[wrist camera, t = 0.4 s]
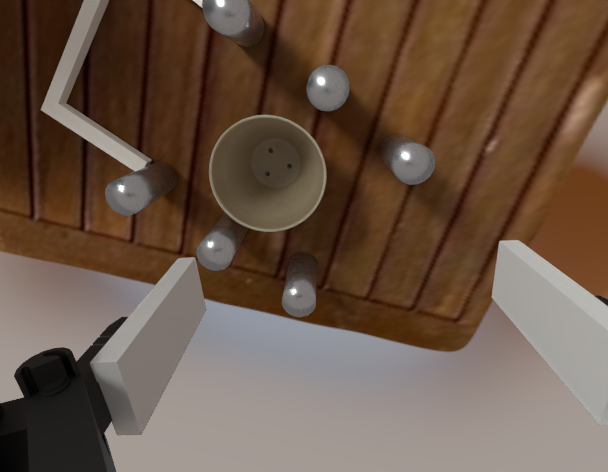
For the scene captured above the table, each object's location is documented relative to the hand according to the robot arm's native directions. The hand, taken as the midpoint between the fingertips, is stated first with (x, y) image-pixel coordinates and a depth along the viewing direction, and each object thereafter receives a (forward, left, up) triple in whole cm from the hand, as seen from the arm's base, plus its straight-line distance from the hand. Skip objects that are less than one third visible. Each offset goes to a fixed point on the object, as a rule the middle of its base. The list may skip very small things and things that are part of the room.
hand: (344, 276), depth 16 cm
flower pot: (-5, -3, -23) cm, 24 cm away
